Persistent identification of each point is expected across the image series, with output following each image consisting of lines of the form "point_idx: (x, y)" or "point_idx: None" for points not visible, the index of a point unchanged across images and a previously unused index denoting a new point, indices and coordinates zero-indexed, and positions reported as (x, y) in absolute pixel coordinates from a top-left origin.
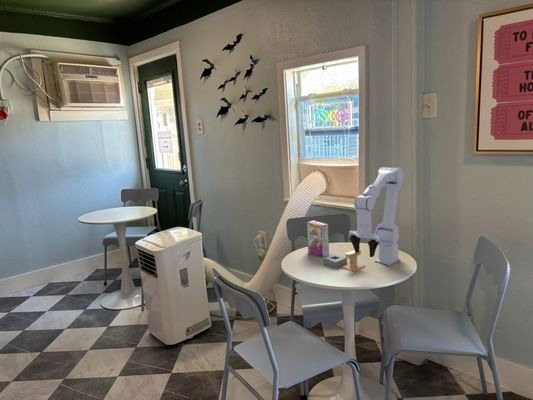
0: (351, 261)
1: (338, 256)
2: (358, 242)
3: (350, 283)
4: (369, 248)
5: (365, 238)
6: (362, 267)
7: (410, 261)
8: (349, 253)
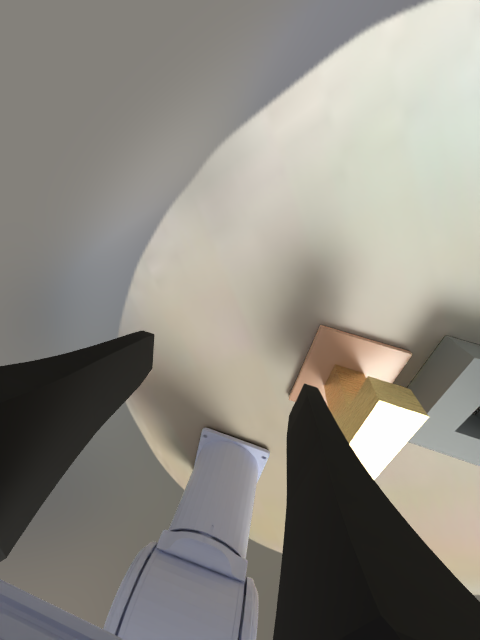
0: (358, 390)
1: (471, 444)
2: (293, 531)
3: (286, 142)
4: (69, 371)
5: (51, 615)
6: (295, 382)
7: (163, 465)
8: (389, 421)
